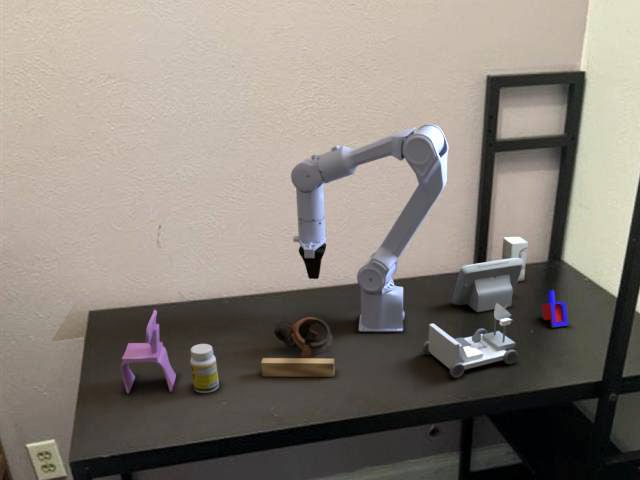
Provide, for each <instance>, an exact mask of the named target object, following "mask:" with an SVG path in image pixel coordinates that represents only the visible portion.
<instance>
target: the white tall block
mask: <svg viewBox="0 0 640 480" xmlns="http://www.w3.org/2000/svg"><path fill="white" fill-rule="evenodd" d="M502 240H503V241H502V250H501V251H502V252H501V260H503V259H510V258H521V259H522V260H523V267H522V270H521V273H520V276H519V279H518V281H517V283H518V282H525V274H526V263H527V253H528V241H527V240H526V239H524V238H522V237H521V236H519V235H518V236H508V237H502Z"/></svg>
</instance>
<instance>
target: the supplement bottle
mask: <svg viewBox="0 0 640 480" xmlns="http://www.w3.org/2000/svg"><path fill="white" fill-rule="evenodd" d="M213 349H214V348H213V346H212V345H211V344H208V343H199V344H198V343H197V344H195V345H193V346H192V347H191V348H190V356H191V357H190V360H189V362H190V369H191V377H192V384H193V388H194V391H196V393H199V394H209V393H213V392H215V391H216V390H218V389H219V387H220V382H219V374H218V365H217V358H216V356H215V355H214V350H213Z"/></svg>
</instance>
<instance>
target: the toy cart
mask: <svg viewBox="0 0 640 480" xmlns="http://www.w3.org/2000/svg"><path fill="white" fill-rule="evenodd" d="M508 305H509V304H507V305H506V306H505V307H504V308H503V307H502V306H501V305H499V304H498V303H496V306H495V309H493V310H494V311H493V317H494V323H493V324H494V325H493V331H492V332H488V331H487V329H485V328H477V330H475V332H474V334H473V335H471V336H468V337H467V336H466V337H462V336H460V337H456V338H453V336H451V335H449V334H448V333H447V332H445V331H444V330H443V329H442V328H440V327H439V326H437V325H436V324H435V323H429V324H428V340H427V341H425V342H424V343H423V344H422V347H421V349H422V352H423V353H424V354H425V355H427V356H431V355H432V356H433V357H435V358H436V359H437V360H438V361H439V362H441V364H442V365H444V366H445V367H447V368H448V369H449V375H450V376H451V377H452V378H454V379H458V378H460V377H462V376H463V375H464V373H465V370H468V369H473V368H477V367H481V366H485V365H488V364H492V363H496V362H500V361H503V362H504V363H505V364H506V365H513V364H514V363H515V362H516V361H517V359H518V357H519V355H518V352H517V351H516V350H515V349H513V348H515V347H516V342H515V341H514V340H512V339H511V338H509V337H508V336H507V335H506V330H507V326H510V325H511V324H512V323H513V321H514V319H513V318H510V317H512V314H511V313H510V312H509V311H508V310H507V308H509V307H508ZM498 321H499V323H498V324H499V325H500V326H501V327H503V332H501V331H500V330H497V322H498Z"/></svg>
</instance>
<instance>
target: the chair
mask: <svg viewBox="0 0 640 480" xmlns="http://www.w3.org/2000/svg"><path fill="white" fill-rule="evenodd" d="M157 316H158V311H157V309H153V310H152V314H151V316H150V319H149V321H148V323H147V325H146V329H145V341H144V342H128V343H127V345H126V349H125V352H124V354H123V355H122V357H121V365H120V372H121V376H122V381H123V384H124V388H125V391H126V394H130V392H131V390H132V387H133V385H134V381H135V379H136V375H134V373H133V371H132V369H131V367H130V364H133V363H134V364H135V363H155V364H158V366H159V367H160V368H161V370H162V372H163V375H164V377H165V380H166V383H167V387H168V390H169V392H173V388H174V385H175V381H176V378H177V374H176V373H175V371H174V369H173V367H172V364H171V362H170V359H169V355H168V351H167V349H166V347H165V346H164V343H163V341H160V323H157Z"/></svg>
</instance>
